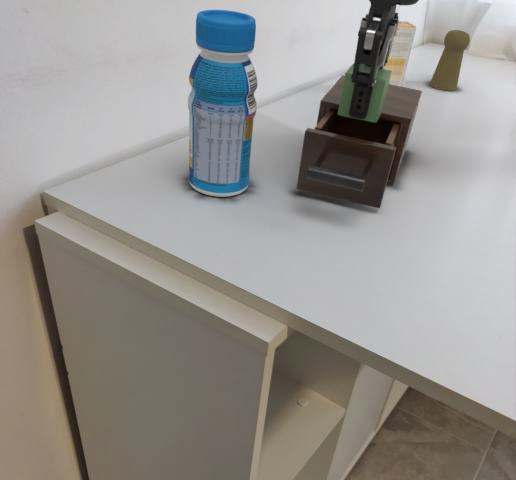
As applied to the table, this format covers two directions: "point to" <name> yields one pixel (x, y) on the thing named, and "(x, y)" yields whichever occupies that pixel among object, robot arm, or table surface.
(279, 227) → the table surface
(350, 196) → the drawer
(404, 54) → the supplement box
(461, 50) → the olive pawn
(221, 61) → the beverage bottle
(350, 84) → the block
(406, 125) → the cabinet
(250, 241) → the table surface
